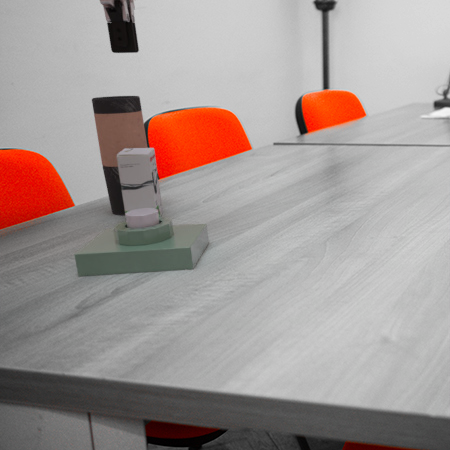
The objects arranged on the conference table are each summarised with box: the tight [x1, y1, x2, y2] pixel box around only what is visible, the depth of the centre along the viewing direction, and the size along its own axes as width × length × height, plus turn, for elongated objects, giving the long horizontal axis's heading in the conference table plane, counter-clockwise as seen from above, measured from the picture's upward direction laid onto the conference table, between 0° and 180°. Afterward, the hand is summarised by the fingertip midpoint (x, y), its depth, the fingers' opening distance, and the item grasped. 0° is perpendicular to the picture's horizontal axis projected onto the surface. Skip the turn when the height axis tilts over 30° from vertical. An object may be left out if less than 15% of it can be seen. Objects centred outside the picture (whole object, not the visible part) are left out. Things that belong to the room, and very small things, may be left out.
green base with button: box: [73, 216, 210, 277], centre depth 77 cm, size 14×11×5 cm
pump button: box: [124, 208, 160, 229], centre depth 76 cm, size 4×4×2 cm
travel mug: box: [91, 95, 149, 216], centre depth 101 cm, size 8×8×20 cm
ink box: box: [117, 147, 164, 217], centre depth 95 cm, size 9×5×12 cm, turn 16°
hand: (125, 52), depth 80 cm, fingers closed
